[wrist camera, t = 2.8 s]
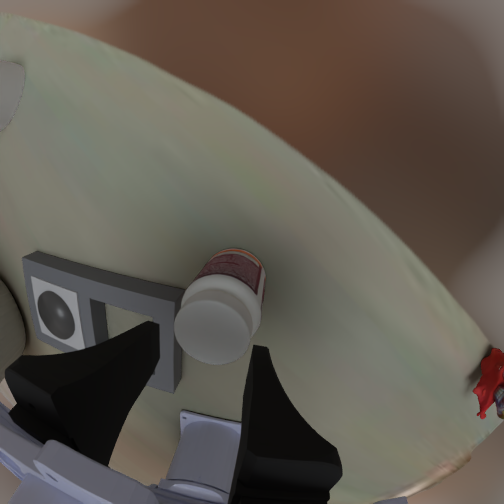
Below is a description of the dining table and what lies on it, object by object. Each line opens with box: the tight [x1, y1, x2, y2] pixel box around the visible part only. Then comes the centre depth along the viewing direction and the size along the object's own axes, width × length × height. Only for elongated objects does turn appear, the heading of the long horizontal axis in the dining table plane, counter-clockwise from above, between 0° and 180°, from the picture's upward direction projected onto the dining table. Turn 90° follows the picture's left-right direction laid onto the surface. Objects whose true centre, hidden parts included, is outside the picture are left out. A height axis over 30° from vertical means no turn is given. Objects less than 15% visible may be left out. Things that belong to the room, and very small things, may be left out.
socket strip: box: [22, 251, 185, 394], centre depth 23 cm, size 10×18×3 cm, turn 81°
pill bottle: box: [174, 248, 266, 365], centre depth 18 cm, size 5×5×8 cm
